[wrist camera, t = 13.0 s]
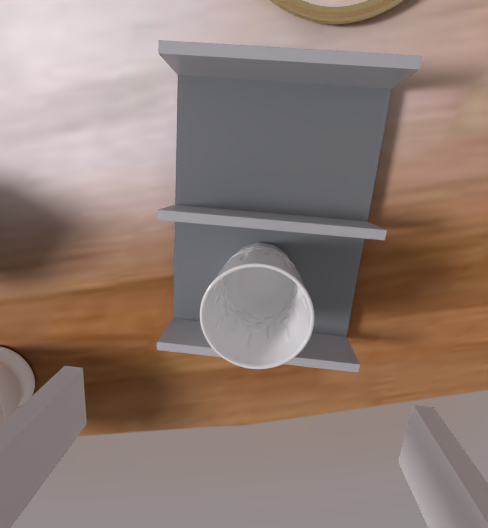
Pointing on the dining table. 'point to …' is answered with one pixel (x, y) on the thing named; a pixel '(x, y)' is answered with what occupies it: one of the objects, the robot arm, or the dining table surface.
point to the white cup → (257, 309)
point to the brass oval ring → (336, 10)
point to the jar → (14, 382)
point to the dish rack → (277, 175)
